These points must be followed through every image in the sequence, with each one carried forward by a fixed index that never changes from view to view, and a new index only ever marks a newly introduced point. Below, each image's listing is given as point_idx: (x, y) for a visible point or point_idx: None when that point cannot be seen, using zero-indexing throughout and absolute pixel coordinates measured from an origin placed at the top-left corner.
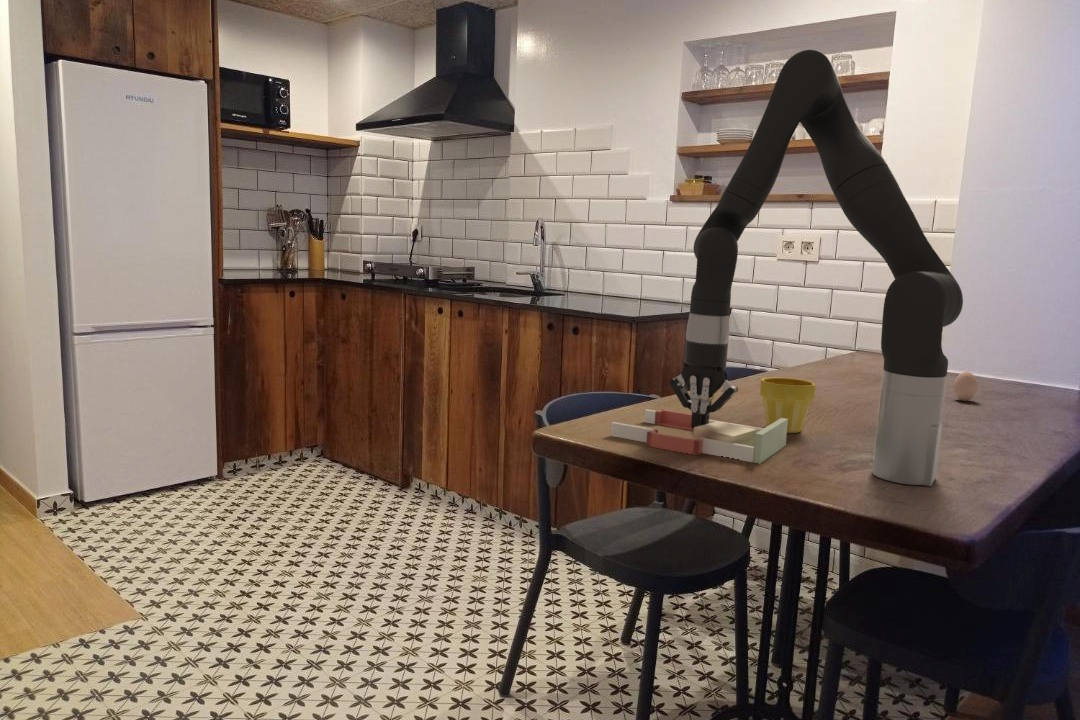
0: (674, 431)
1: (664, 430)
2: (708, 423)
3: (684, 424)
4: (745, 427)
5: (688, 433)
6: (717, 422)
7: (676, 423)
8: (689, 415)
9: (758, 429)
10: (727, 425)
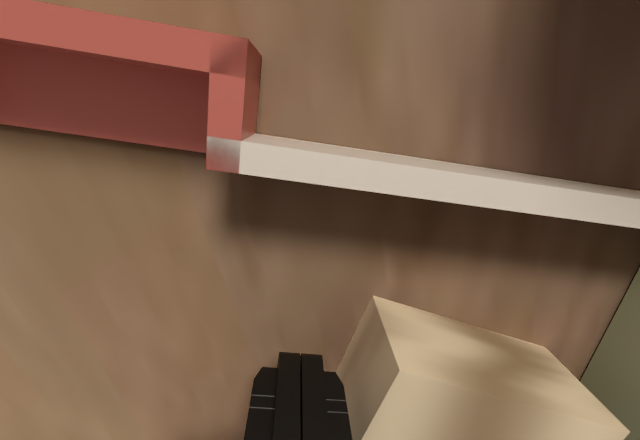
0: (126, 230)
1: (71, 240)
2: (346, 406)
3: (106, 61)
4: (569, 422)
5: (208, 231)
6: (401, 400)
7: (43, 50)
8: (97, 52)
9: (635, 227)
10: (465, 433)
